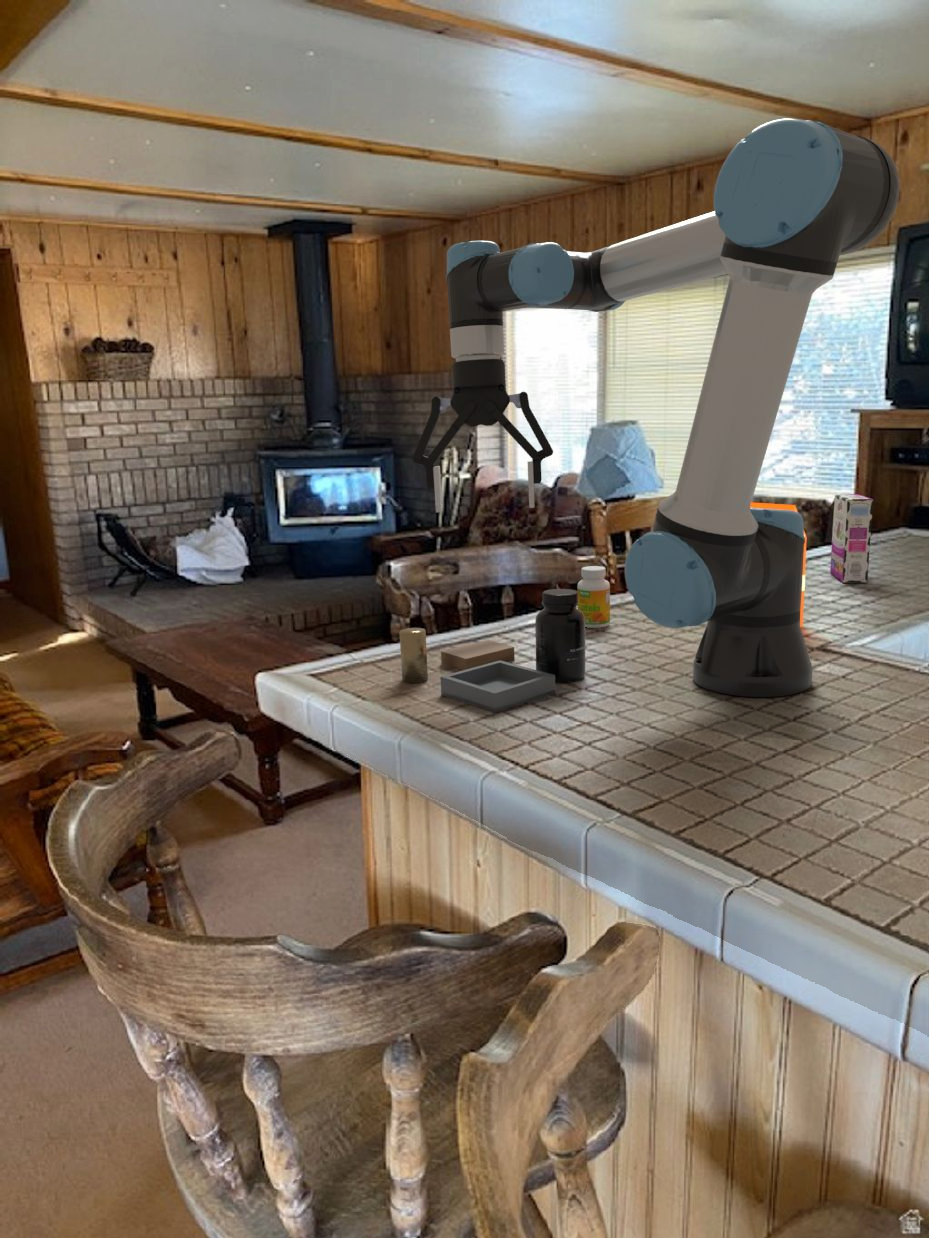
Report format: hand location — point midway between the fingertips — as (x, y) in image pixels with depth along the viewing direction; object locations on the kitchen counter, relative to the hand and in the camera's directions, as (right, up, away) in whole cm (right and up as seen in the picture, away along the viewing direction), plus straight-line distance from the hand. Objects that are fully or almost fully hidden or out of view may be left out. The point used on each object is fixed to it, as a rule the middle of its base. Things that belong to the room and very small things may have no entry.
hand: (485, 509), depth 139 cm
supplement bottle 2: (+19, -17, +21) cm, 33 cm away
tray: (+1, -26, -14) cm, 30 cm away
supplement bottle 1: (+10, -24, -8) cm, 27 cm away
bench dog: (-10, -24, -6) cm, 27 cm away
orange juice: (+46, -18, +15) cm, 51 cm away
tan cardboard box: (-1, -23, +1) cm, 23 cm away
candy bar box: (+74, -8, +51) cm, 90 cm away
